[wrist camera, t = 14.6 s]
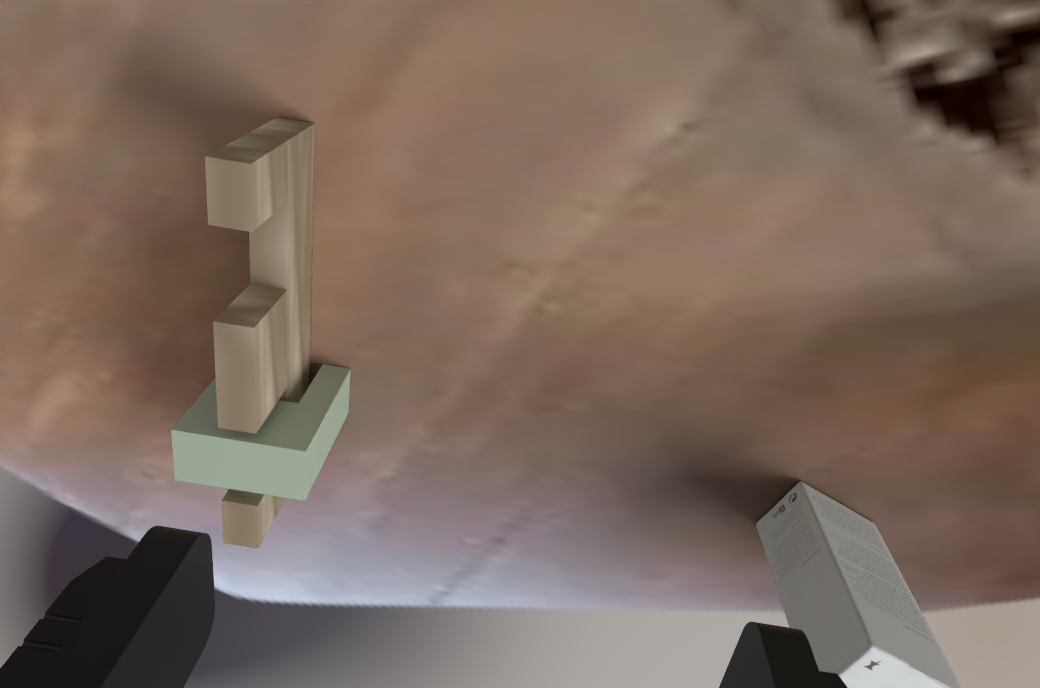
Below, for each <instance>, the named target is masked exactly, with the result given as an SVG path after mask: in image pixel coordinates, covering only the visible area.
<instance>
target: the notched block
mask: <svg viewBox="0 0 1040 688" xmlns="http://www.w3.org/2000/svg"><path fill="white" fill-rule="evenodd" d="M350 373H351V369H350V368H344V367H338V366H332V365H325V364H323V365H322V366H321V368H320V369H319V371H318V373H317V374H316V376H315V378H314V379H313V381H312V382H311V384H310V386H309V387H308V389H307V391H306V392H305V394H304V395H303V397H302V399H301V400H300V402H299V403H293V402H287V401H281V400H278V402H277V403H276V405H275V406H274V408H273V409H272V411H271V412H270V414H269V415H268V417H267V418H266V420H265V421H264V423H263V424H262V426H261V427H260V429H259V430H258V432H257V433H256V434H254V433H248V432H242V431H236V430H229V429H223V428H218V416H217V396H216V378H215V379H214V380H213V381H212V382H211V384H210V385H209V386H208V387H207V388H206V389H205V391H204V392H203V393H202V394H201V395H200V396H199V398H198V399H197V400H196V401H195V402H194V403H193V405H192V406H191V407H190V408H189V409H188V411H187V412H186V413H185V414H184V415H183V416H182V418H181V419H180V420H179V421H178V422H177V423H176V425H175V426H174V427H173V428H172V429H171V434H172V446H173V459H174V471H175V480H179V481H185V482H191V483H197V484H203V485H210V486H216V487H222V488H228V489H234V490H241V491H247V492H253V493H259V494H265V495H272V496H278V497H284V498H290V499H296V500H303V501H305V499H306V497H307V495H308V493H309V491H310V489H311V487H312V485H313V483H314V481H315V479H316V477H317V475H318V473H319V471H320V469H321V467H322V465H323V463H324V461H325V459H326V457H327V455H328V453H329V451H330V449H331V447H332V445H333V443H334V441H335V439H336V437H337V435H338V433H339V431H340V429H341V426H342V424H343V422H344V420H345V418H346V416H347V414H348V410H349V392H350Z"/></svg>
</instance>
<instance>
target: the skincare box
mask: <svg viewBox="0 0 1040 688" xmlns="http://www.w3.org/2000/svg"><path fill="white" fill-rule="evenodd" d="M756 527H757V530H758V533H759V536H760V539H761V542H762V545H763V548H764V551H765V554H766V557H767V561H768V564H769V566H770V569H771V572H772V576H773V579H774V582H775V585H776V588H777V591H778V594H779V597H780V600H781V603H782V606H783V609H784V612H785V615H786V618H787V621H788V624H789V627H790V628H794V629H800V630H802V631H803V632H804V633H805V635H806V636H807V638H808V641H809V643H810V646H811V649H812V652H813V655H814V658H815V660H816V663H817V666H818V669H819V671H823V672H830V673H836V674H838V675H839V677H840V678H841V679H842V681H843V682H844V683H845V685H846V686H847V687H848V688H961V686H960V684H959V682H958V681H957V679H956V677H955V675H954V673H953V671H952V669H951V667H950V665H949V663H948V662H947V659H946V658H945V656H944V654H943V652H942V650H941V648H940V646H939V645H938V643H937V641H936V639H935V637H934V635H933V633H932V631H931V630H930V627H929V626H928V624H927V622H926V620H925V618H924V616H923V614H922V612H921V610H920V608H919V606H918V604H917V603H916V601H915V599H914V597H913V595H912V593H911V591H910V590H909V588H908V586H907V584H906V582H905V580H904V578H903V576H902V575H901V573H900V571H899V569H898V567H897V565H896V563H895V561H894V559H893V558H892V556H891V554H890V552H889V550H888V548H887V546H886V544H885V542H884V540H883V539H882V537H881V535H880V533H879V531H878V529H877V527H876V526H875V524H874V523H873V522H871V521H869V520H868V519H866V518H864V517H862V516H861V515H859V514H857V513H855V512H854V511H852V510H850V509H848V508H847V507H845V506H843V505H841V504H840V503H838V502H836V501H834V500H833V499H831V498H829V497H827V496H826V495H824V494H822V493H821V492H819V491H817V490H815V489H814V488H812V487H810V486H809V485H807V484H805V483H804V482H799V483H798V484H797V485H795V486H794V487H793V488H792V489H791V490H790V491H789V492H788V493H787V494H786V495H785V496H784V497H783V498H782V499H781V500H780V501H779V502H778V503H777V504H776V505H775V506H774V507H773V508H772V509H771V510H770V511H769V512H768V513H767V514H766V515H764V516H763V517H762V518H761V519H760V520H759V521H758V522H757V524H756Z"/></svg>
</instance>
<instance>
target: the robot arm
mask: <svg viewBox="0 0 1040 688" xmlns="http://www.w3.org/2000/svg"><path fill="white" fill-rule="evenodd" d="M214 614H215V595H214V578H213V561H212V544H211V539H210V536H209V535H208V534H207V533H200V532H194V531H188V530H181V529H175V528H169V527H163V526H154V527H152V528H151V529H150V530H149V531H148V532H147V533H146V534H145V535H144V536H143V538H142V539H141V540H140V542H139V543H138V545H137V546H136V547H135V549H134V550H133V551H132V553H131V554H130V556H129V557H128V558H127V559H120V558H114V557H108V556H107V557H105V558H104V559H103V560H101V561H100V562H98V563H97V564H95V565H94V566H92V567H91V568H90V569H88V570H86V571H85V572H83V573H82V574H81V575H79V576H78V577H76V578H75V579H73V580H72V581H70V583H69V584H68V585H67V586H66V588H65V589H64V590H63V591H62V593H61V594H60V595H59V596H58V598H57V599H56V600H55V601H54V603H53V604H52V605H51V606H50V608H49V609H48V610H47V611H46V613H45V617H44V619H43V620H42V619H40V620H39V621H38V623H37V624H36V625H35V626H34V627H33V629H32V630H31V631H30V632H29V634H28V635H27V636H26V637H25V639H24V643H23V645H22V646H21V647H20V646H18V647H17V649H16V650H15V651H14V652H13V653H12V655H11V656H10V657H9V659H8V660H7V661H6V662H5V664H4V665H3V666H2V667H1V668H0V688H184V686H185V684H186V682H187V680H188V678H189V676H190V674H191V672H192V671H193V669H194V667H195V665H196V663H197V661H198V660H199V658H200V656H201V654H202V652H203V650H204V648H205V646H206V643H207V641H208V638H209V635H210V632H211V628H212V624H213V620H214ZM719 688H848V687H847V686H846V685H845V683H844V682H843V681H842V679H841V678H840V677H839V675H838V674H836V673H830V672H823V671H819V669H818V666H817V663H816V660H815V658H814V655H813V652H812V649H811V646H810V643H809V641H808V638H807V636H806V635H805V633H804V632H803V631H802V630H800V629H794V628H787V627H781V626H774V625H767V624H762V623H756V622H749V623H748V624H746V626H745V627H744V629H743V631H742V634H741V636H740V638H739V641H738V643H737V646H736V648H735V650H734V653H733V655H732V658H731V660H730V662H729V665H728V667H727V670H726V672H725V674H724V677H723V680H722V682H721V684H720V687H719Z"/></svg>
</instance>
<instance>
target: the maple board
mask: <svg viewBox="0 0 1040 688" xmlns="http://www.w3.org/2000/svg"><path fill="white" fill-rule="evenodd" d="M314 124H315V123H309V122H303V121H297V120H291V119H285V118H279V117H277V118H275V119H273V120H271V121H270V122H268V123H266V124H264V125H262V126H260V127H258V128H257V129H255V130H253V131H251V132H249V133H247V134H245V135H244V136H242V137H240V138H238V139H236V140H234V141H232V142H231V143H229V144H227V145H225V146H223V147H221V148H219V149H218V150H216V151H214V152H212V153H210V154H208V155H207V156H205V170H206V190H207V211H208V225H212V226H218V227H224V228H230V229H236V230H242V231H248V232H249V249H250V284H249V285H248V286H247V287H246V288H245V289H244V290H243V291H242V292H241V293H240V294H239V295H238V297H237V298H236V299H235V300H234V301H233V302H232V303H231V304H230V305H229V306H228V307H227V308H226V309H225V310H224V311H223V312H222V313H221V314H220V315H219V316H218V317H217V318H216V319H215V320H214V321H213V334H214V355H215V375H216V396H217V416H218V428H223V429H229V430H236V431H242V432H248V433H254V434H256V433H257V432H258V430H259V429H260V427H261V426H262V424H263V423H264V421H265V420H266V418H267V417H268V415H269V414H270V412H271V411H272V409H273V408H274V406H275V405H276V403H277V402H278V400H281V401H287V402H293V403H299V402H300V400H301V399H302V397H303V395H304V394H305V392H306V391H307V389H308V387H309V371H310V321H311V272H312V223H313V174H314ZM284 500H285V498H284V497H278V496H272V495H265V494H259V493H253V492H247V491H241V490H234V489H229V490H228V491H227V493H226V495H225V496H224V498H223V499H222V519H223V540H224V543H227V544H234V545H240V546H246V547H252V548H259V547H260V545H261V543H262V541H263V539H264V537H265V535H266V533H267V532H268V530H269V528H270V526H271V524H272V522H273V520H274V518H275V516H276V515H277V513H278V511H279V509H280V507H281V505H282V503H283V501H284Z"/></svg>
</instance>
